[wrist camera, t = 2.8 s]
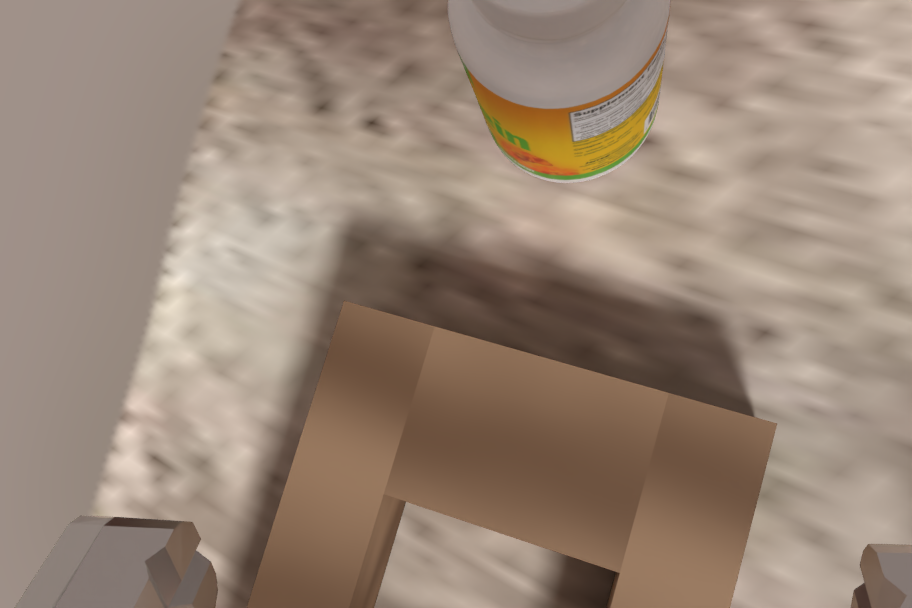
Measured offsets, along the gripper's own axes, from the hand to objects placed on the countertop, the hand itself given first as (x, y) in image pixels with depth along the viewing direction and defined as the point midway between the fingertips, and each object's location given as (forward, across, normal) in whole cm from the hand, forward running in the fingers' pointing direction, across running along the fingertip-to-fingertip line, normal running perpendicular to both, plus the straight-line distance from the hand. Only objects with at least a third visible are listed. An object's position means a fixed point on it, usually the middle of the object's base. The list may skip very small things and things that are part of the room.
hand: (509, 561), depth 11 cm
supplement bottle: (+20, 0, +2) cm, 20 cm away
